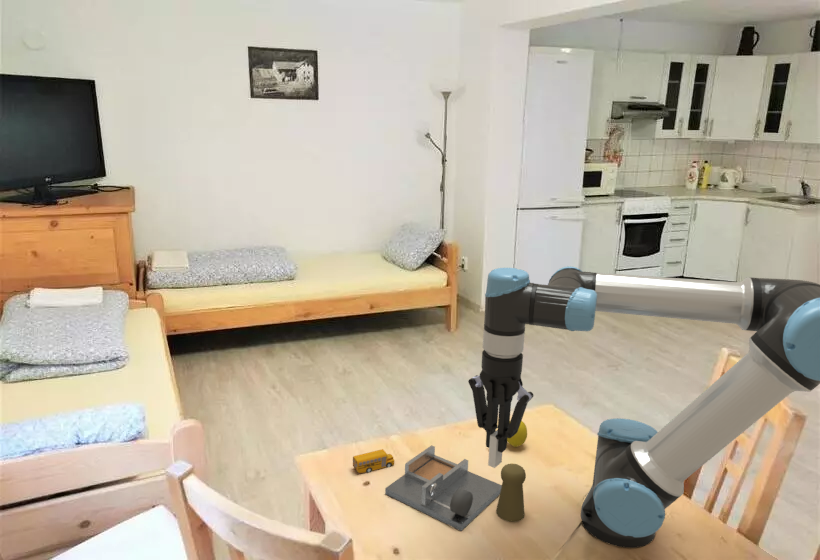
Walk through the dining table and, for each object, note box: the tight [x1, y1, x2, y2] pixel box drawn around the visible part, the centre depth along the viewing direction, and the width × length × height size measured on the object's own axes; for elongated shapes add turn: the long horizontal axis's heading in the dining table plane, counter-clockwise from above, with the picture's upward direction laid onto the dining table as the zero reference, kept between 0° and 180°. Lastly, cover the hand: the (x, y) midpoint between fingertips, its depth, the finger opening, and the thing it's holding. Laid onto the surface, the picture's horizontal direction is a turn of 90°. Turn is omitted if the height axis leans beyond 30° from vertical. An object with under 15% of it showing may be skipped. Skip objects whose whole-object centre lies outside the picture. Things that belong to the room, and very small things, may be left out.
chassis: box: [384, 445, 502, 532], centre depth 135 cm, size 20×18×6 cm
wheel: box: [450, 488, 473, 516], centre depth 126 cm, size 3×5×5 cm, turn 143°
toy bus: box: [352, 448, 395, 474], centre depth 145 cm, size 3×10×4 cm, turn 117°
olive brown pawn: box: [495, 463, 527, 523], centre depth 128 cm, size 6×6×11 cm
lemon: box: [507, 420, 528, 448], centre depth 155 cm, size 6×6×8 cm
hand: (494, 463), depth 119 cm, fingers closed
